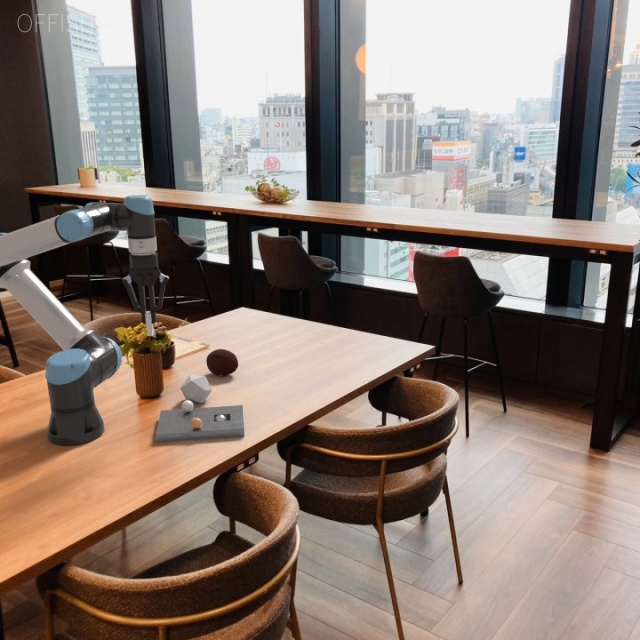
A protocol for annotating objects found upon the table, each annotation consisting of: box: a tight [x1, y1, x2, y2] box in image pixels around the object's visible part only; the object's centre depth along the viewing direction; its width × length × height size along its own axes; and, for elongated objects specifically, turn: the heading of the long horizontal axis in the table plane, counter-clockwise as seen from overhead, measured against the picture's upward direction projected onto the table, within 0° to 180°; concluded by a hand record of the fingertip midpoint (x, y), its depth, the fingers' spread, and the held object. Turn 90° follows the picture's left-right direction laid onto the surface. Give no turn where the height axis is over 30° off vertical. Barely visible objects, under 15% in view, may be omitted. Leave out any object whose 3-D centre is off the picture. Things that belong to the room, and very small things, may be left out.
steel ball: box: [215, 415, 227, 421], centre depth 199 cm, size 3×3×3 cm
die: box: [179, 374, 213, 404], centre depth 216 cm, size 8×9×10 cm
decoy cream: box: [181, 399, 194, 412], centre depth 203 cm, size 3×3×3 cm
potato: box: [205, 348, 239, 377], centre depth 237 cm, size 9×12×9 cm
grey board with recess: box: [155, 404, 245, 443], centre depth 198 cm, size 24×16×2 cm, turn 98°
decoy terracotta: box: [191, 418, 202, 429], centre depth 192 cm, size 3×3×3 cm
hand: (150, 334), depth 197 cm, fingers closed
